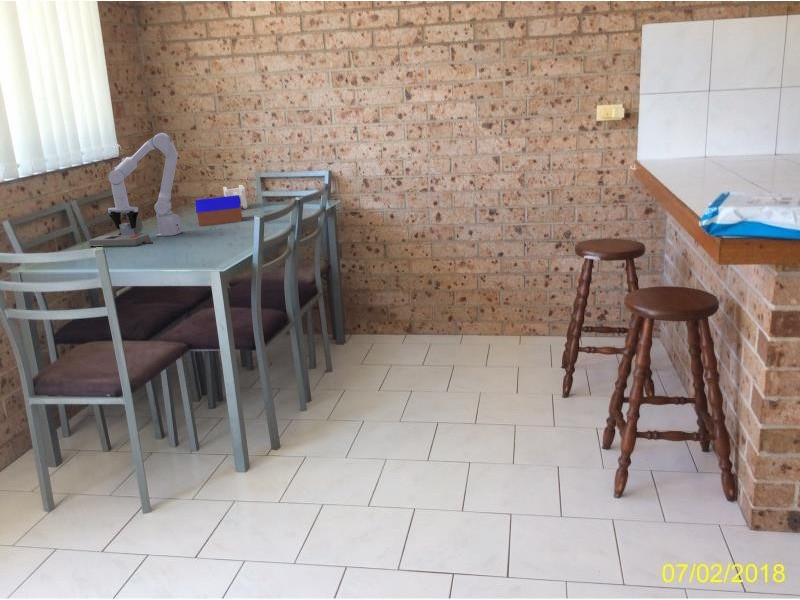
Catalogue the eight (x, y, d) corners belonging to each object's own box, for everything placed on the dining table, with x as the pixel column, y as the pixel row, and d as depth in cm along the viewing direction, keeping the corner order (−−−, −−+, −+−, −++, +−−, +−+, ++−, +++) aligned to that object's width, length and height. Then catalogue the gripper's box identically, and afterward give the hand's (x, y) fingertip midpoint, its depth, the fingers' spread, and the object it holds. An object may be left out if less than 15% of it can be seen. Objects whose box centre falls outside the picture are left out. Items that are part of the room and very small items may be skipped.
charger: (135, 238, 331) (132, 222, 329) (129, 240, 327) (126, 224, 325) (127, 238, 332) (124, 222, 330) (122, 240, 328) (118, 224, 326)
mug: (121, 245, 339) (133, 243, 333) (108, 233, 335) (119, 231, 328) (134, 228, 345) (146, 225, 338) (121, 216, 340) (133, 213, 333)
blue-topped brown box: (242, 221, 348) (238, 196, 344) (198, 226, 345) (194, 201, 342) (243, 217, 359) (239, 193, 356) (200, 222, 356) (196, 198, 353)
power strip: (159, 240, 319) (157, 232, 318) (146, 245, 311) (144, 237, 310) (104, 242, 328) (102, 234, 327) (90, 247, 320) (88, 238, 319)
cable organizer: (226, 208, 391) (222, 186, 388) (246, 205, 394) (242, 183, 390) (227, 212, 377) (224, 189, 374) (248, 209, 380) (245, 186, 376)
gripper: (140, 195, 326) (145, 226, 330) (112, 196, 331) (118, 226, 335) (129, 198, 320) (135, 229, 324) (102, 199, 324) (108, 230, 328)
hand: (126, 228), depth 329 cm, fingers open, 7 cm apart
